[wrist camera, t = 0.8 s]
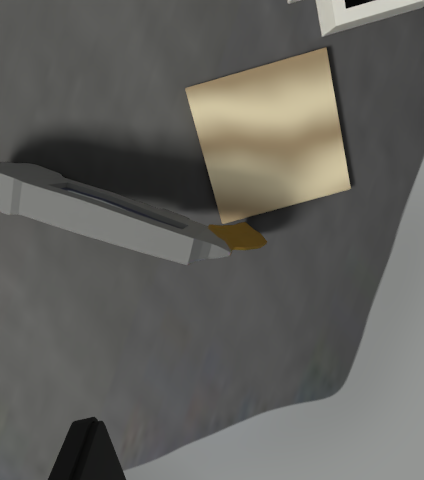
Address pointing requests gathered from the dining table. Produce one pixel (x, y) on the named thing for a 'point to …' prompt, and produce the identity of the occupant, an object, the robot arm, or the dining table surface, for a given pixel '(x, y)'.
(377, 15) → the collar
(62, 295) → the dining table surface
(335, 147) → the board
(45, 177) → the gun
